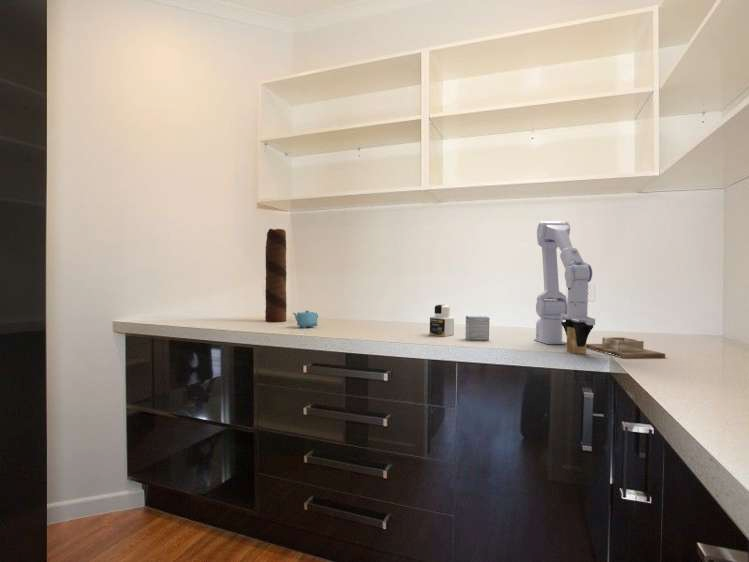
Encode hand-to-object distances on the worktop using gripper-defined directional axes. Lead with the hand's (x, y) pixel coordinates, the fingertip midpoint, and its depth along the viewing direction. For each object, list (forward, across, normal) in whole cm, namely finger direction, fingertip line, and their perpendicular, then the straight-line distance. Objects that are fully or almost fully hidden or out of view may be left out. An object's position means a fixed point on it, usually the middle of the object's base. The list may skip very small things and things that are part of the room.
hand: (576, 345), depth 128 cm
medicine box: (+3, -27, -22) cm, 35 cm away
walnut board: (+2, 0, +16) cm, 16 cm away
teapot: (+3, -62, -87) cm, 107 cm away
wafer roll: (+3, -85, -102) cm, 133 cm away
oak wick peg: (+2, 0, 0) cm, 2 cm away
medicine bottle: (+3, -39, -32) cm, 51 cm away
